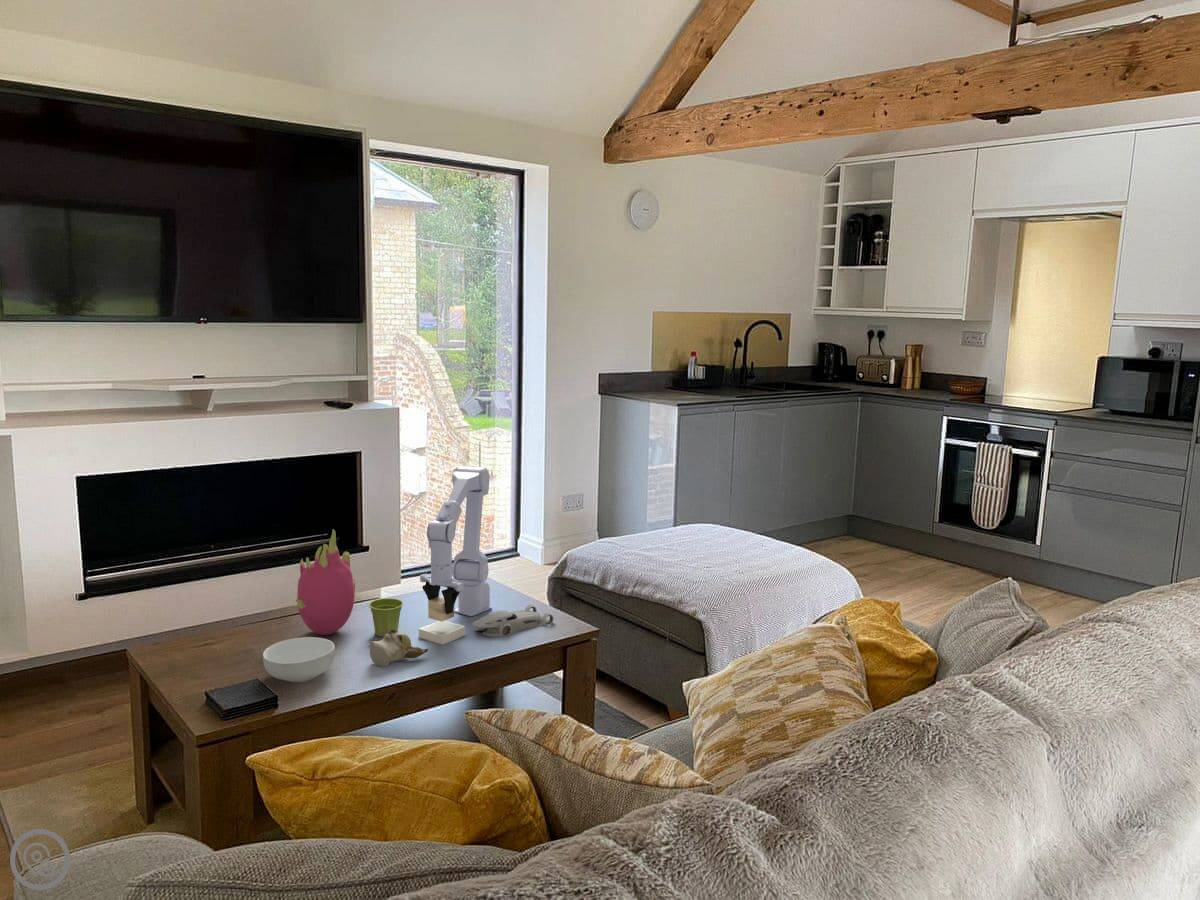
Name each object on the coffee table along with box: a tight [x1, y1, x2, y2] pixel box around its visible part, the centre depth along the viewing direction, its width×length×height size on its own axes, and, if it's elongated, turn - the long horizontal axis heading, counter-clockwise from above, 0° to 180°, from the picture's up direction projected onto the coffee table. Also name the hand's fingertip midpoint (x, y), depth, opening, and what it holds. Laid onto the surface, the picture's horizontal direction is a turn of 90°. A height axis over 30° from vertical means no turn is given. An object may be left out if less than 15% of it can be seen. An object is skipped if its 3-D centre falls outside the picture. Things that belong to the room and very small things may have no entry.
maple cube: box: [427, 595, 455, 622], centre depth 248 cm, size 5×5×5 cm
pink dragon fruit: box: [295, 528, 356, 636], centre depth 248 cm, size 18×14×30 cm
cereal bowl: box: [262, 636, 336, 683], centre depth 221 cm, size 17×17×7 cm
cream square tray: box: [418, 620, 466, 645], centre depth 249 cm, size 9×9×3 cm
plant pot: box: [368, 597, 404, 638], centre depth 250 cm, size 9×9×9 cm
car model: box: [472, 604, 555, 638], centre depth 258 cm, size 11×24×5 cm, turn 129°
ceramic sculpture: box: [369, 630, 429, 668], centre depth 231 cm, size 11×9×15 cm
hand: (441, 611), depth 248 cm, fingers closed on maple cube, 5 cm apart
